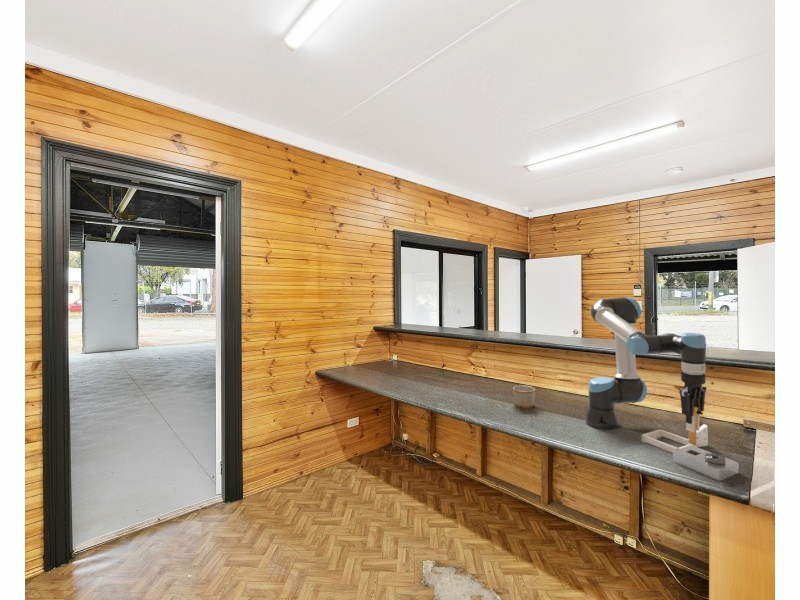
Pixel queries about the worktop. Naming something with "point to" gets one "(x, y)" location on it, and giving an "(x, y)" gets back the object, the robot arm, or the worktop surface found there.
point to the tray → (659, 433)
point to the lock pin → (693, 434)
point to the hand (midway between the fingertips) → (692, 429)
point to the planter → (524, 396)
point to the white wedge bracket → (702, 436)
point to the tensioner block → (706, 462)
